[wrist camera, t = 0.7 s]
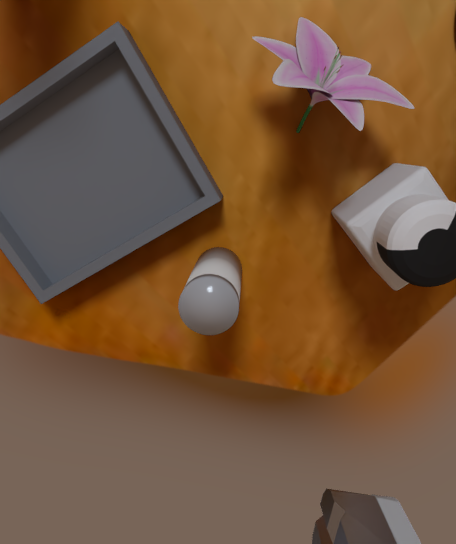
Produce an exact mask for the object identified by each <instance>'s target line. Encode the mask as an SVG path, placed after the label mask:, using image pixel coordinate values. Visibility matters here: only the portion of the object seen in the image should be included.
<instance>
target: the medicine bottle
mask: <svg viewBox="0 0 456 544" xmlns="http://www.w3.org/2000/svg"><path fill="white" fill-rule="evenodd" d="M331 213H332V215H333V217H334V218H335V219H336V221H337V222H338V223H339V225H340V226H341V227H342V229H343V230H344V231H345V233H346V234H347V235H348V237H349V238H350V239H351V241H352V242H353V243H354V245H355V246H356V247H357V249H358V250H359V251H360V253H361V254H362V255H363V257H364V258H365V259H366V261H367V262H368V263H369V265H370V266H371V267H372V268H373V269H374V270H375V271H376V272H377V273H378V274H379V276H380V277H381V278H382V279H383V280H384V281H385V282H386V283H387V284H388V285H389V286H390V287H391V288H392V289H393V290H396V291H397V290H400V289H401V288H403V287H404V286H406V285H407V284H409V283H410V284H413V285H417V286H423V287H432V286H438V285H442V284H445V283H448V282H450V281H452V280H454V279H455V278H456V203H455V202H452V201H449V200H448V199H447V197H446V196H445V194H444V193H443V191H442V190H441V188H440V187H439V185H438V184H437V182H436V181H435V179H434V178H433V176H432V175H431V173H430V172H429V170H428V169H427V168H426V167H421V166H414V165H406V164H399V163H394V164H392V165H391V166H389V167H388V168H387V169H385V170H384V171H383V172H381V173H380V174H379V175H377V176H376V177H375V178H374V179H372V180H371V181H370V182H368V183H367V184H366V185H364V186H363V187H362V188H360V189H359V190H358V191H356V192H355V193H354V194H352V195H351V196H350V197H348V198H347V199H346V200H344V201H343V202H342V203H340V204H339V205H338V206H336V207H335V208H334V209H333V210H332V212H331Z"/></svg>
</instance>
